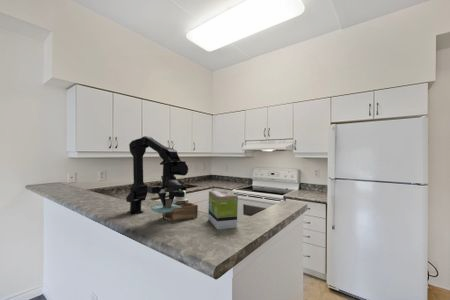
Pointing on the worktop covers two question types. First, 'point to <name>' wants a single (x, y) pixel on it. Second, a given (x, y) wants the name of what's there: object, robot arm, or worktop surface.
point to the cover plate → (163, 210)
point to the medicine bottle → (180, 197)
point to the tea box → (223, 209)
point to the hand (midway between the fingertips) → (167, 205)
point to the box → (182, 212)
